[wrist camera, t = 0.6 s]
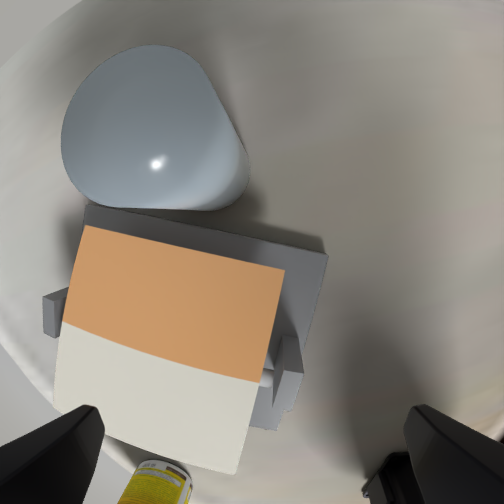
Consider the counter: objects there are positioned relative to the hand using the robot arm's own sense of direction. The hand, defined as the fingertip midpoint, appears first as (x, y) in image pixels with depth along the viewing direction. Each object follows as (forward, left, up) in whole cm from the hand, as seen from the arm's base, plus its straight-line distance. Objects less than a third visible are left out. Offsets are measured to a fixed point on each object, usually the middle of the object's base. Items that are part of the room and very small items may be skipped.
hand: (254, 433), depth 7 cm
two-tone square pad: (+5, +3, -8) cm, 10 cm away
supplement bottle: (+5, +20, -12) cm, 24 cm away
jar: (+5, -7, -12) cm, 15 cm away
